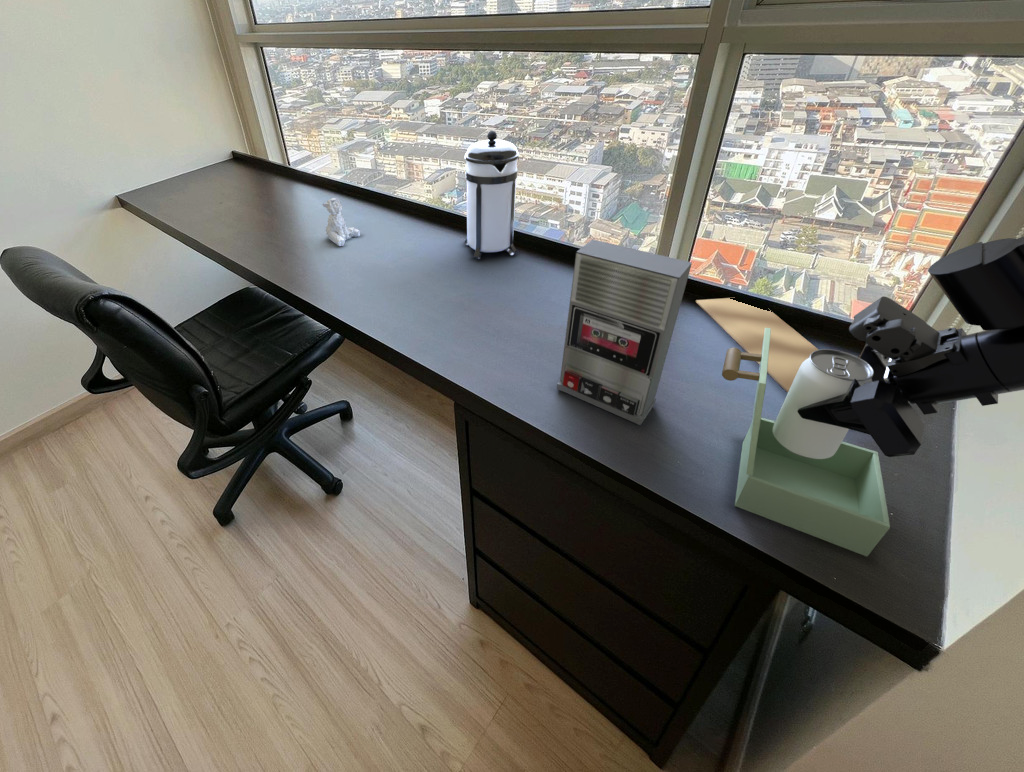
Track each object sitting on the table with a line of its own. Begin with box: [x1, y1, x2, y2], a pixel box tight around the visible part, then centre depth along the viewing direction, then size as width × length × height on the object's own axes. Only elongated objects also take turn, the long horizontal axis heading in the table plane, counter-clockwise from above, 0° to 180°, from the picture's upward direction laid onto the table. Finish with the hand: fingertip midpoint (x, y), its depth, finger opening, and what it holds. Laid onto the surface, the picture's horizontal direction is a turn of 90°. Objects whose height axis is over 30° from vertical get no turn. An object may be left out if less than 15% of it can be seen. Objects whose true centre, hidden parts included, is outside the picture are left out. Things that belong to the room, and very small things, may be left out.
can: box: [773, 348, 874, 459], centre depth 56 cm, size 6×6×12 cm
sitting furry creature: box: [322, 197, 361, 247], centre depth 136 cm, size 10×9×12 cm
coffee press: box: [464, 130, 520, 261], centre depth 121 cm, size 17×16×30 cm
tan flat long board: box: [695, 297, 819, 394], centre depth 85 cm, size 36×12×1 cm, turn 2°
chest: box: [734, 416, 891, 557], centre depth 60 cm, size 13×12×6 cm
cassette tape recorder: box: [556, 239, 693, 426], centre depth 71 cm, size 14×6×25 cm, turn 49°
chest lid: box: [721, 328, 771, 476], centre depth 59 cm, size 14×12×4 cm
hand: (806, 399), depth 57 cm, fingers closed on can, 6 cm apart
